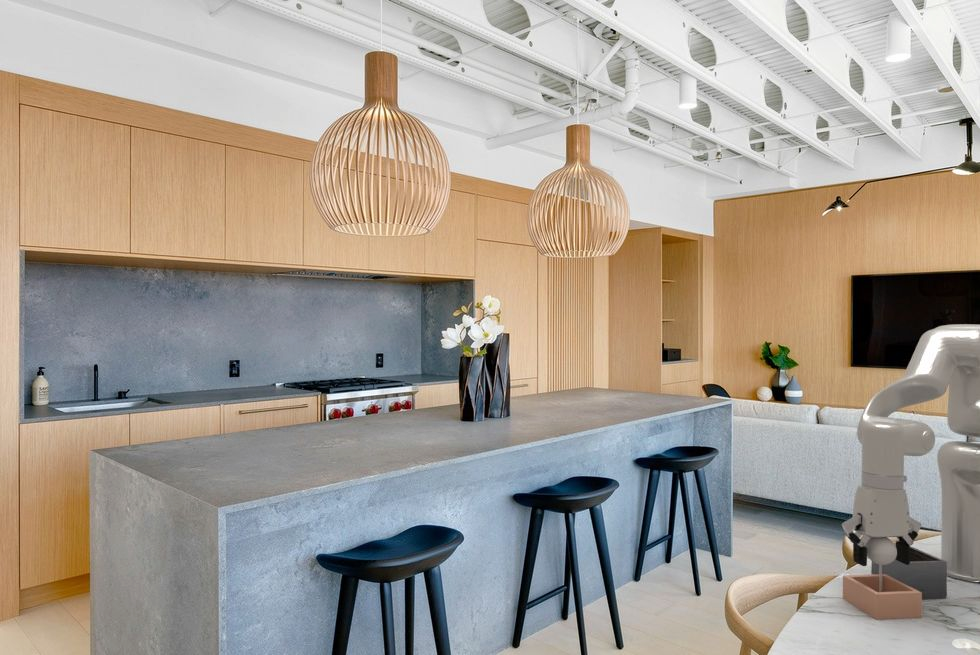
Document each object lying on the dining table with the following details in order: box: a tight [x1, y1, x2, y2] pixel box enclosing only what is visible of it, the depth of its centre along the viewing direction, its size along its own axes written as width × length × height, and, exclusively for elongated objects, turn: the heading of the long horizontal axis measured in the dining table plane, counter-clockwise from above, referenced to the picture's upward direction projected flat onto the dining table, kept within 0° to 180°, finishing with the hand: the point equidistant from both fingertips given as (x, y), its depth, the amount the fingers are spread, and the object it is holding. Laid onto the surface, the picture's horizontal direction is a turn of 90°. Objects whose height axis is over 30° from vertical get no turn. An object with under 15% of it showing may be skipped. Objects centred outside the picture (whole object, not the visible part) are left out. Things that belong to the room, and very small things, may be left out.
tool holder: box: [842, 574, 923, 620], centre depth 133 cm, size 10×10×5 cm
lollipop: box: [864, 537, 897, 592], centre depth 133 cm, size 6×6×15 cm
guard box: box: [870, 545, 948, 601], centre depth 143 cm, size 10×10×8 cm
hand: (881, 563), depth 133 cm, fingers open, 9 cm apart
